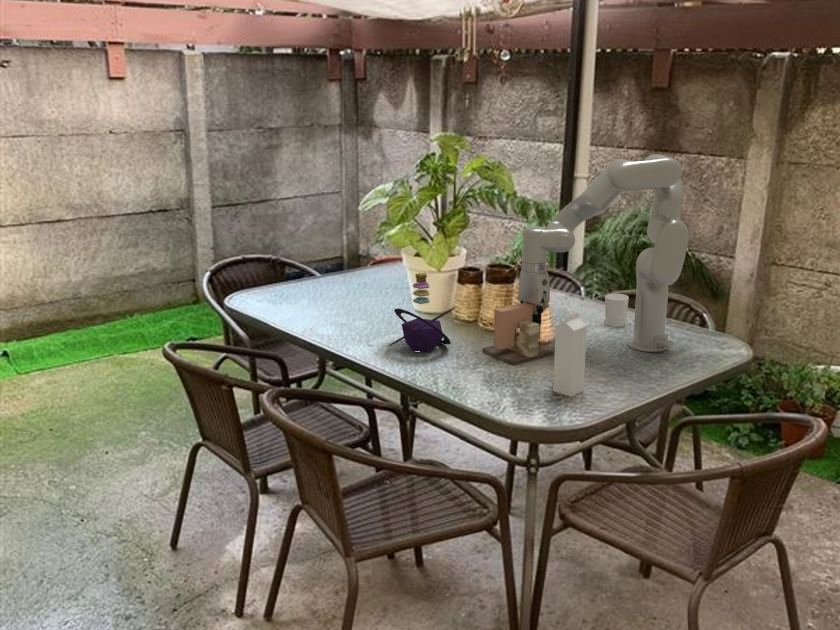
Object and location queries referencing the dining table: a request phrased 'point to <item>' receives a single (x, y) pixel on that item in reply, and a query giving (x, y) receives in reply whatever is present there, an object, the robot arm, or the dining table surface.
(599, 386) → the dining table surface
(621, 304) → the white cup
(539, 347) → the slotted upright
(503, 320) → the brown arch block
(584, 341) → the milk
